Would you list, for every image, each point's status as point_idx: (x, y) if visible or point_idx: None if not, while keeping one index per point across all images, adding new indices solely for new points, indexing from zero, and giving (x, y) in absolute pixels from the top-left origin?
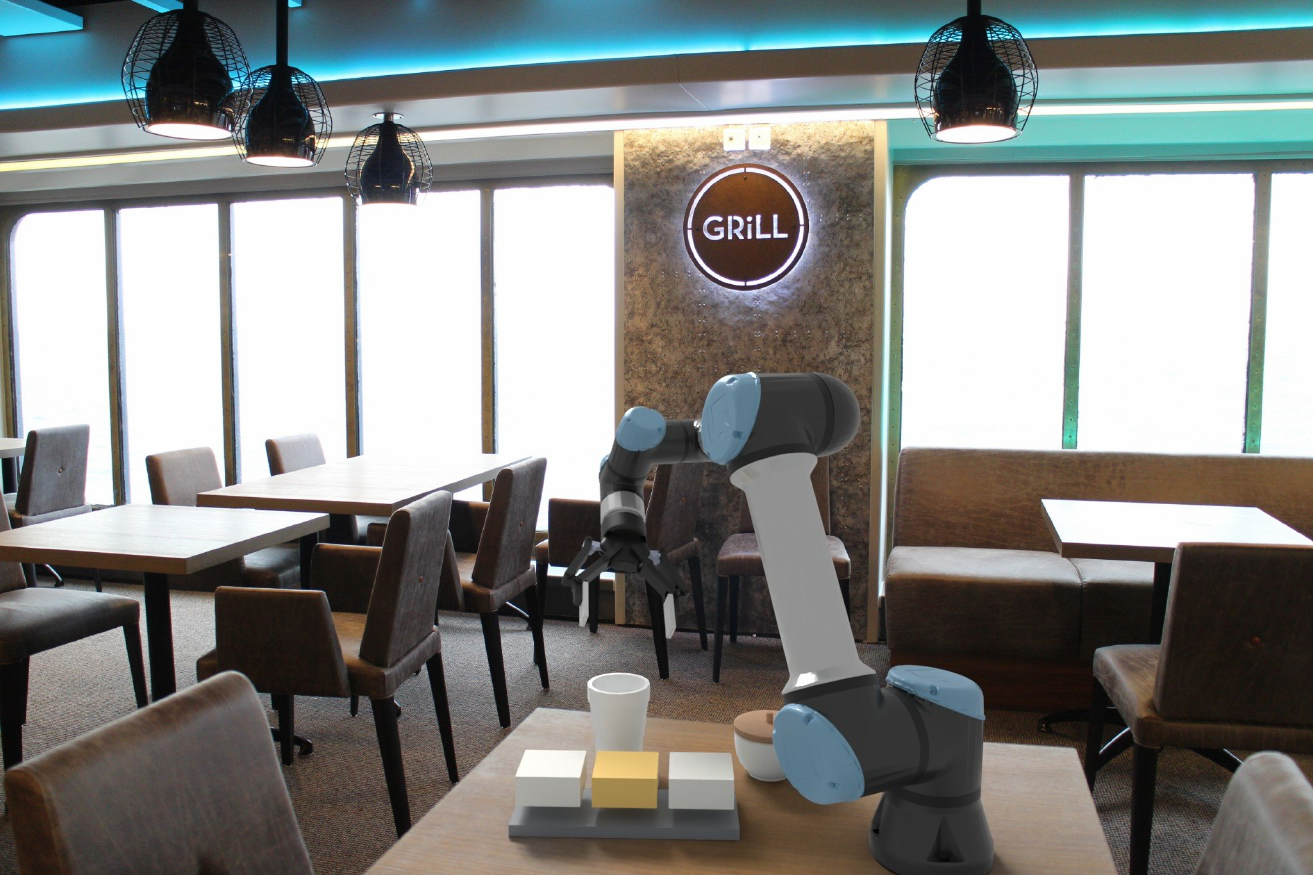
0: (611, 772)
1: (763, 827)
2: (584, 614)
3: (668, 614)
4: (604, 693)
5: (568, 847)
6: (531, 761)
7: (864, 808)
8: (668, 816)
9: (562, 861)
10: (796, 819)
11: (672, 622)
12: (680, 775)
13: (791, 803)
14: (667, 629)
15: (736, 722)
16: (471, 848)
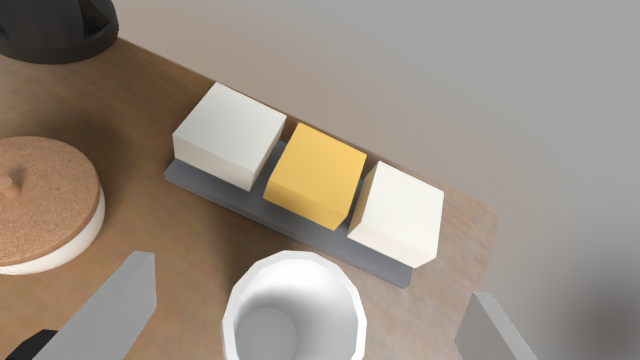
0: (343, 155)
1: (174, 123)
2: (489, 296)
3: (110, 326)
4: (341, 271)
5: (367, 173)
6: (428, 221)
7: (22, 100)
8: (271, 157)
9: (374, 157)
10: (126, 119)
11: (134, 267)
12: (270, 116)
13: (100, 147)
14: (144, 305)
15: (78, 218)
16: (444, 206)
